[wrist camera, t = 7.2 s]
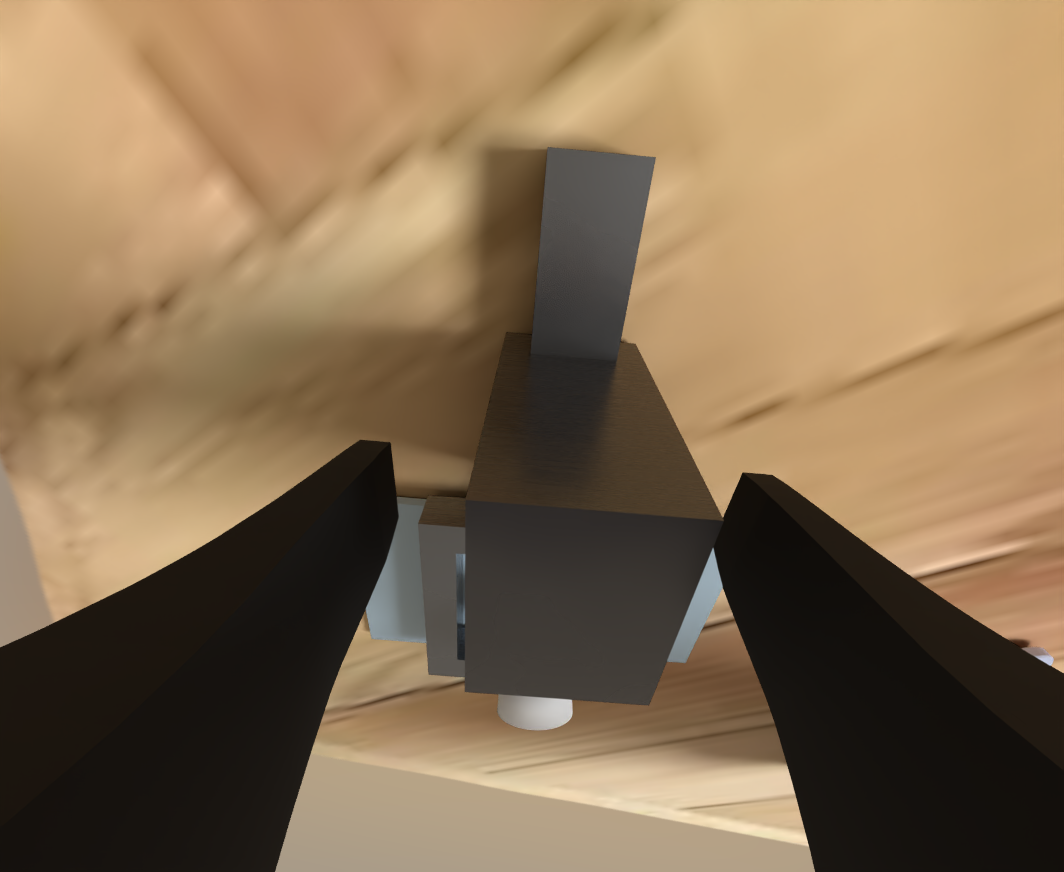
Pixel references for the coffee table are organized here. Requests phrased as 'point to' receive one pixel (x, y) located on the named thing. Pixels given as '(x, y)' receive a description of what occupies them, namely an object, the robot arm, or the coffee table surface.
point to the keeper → (403, 619)
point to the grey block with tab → (571, 478)
